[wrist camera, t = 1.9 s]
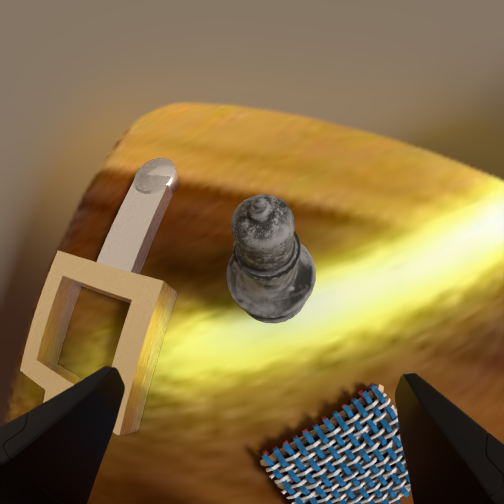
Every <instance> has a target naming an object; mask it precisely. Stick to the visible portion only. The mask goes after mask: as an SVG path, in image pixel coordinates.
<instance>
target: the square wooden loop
mask: <svg viewBox="0 0 504 504" xmlns="http://www.w3.org/2000/svg"><path fill="white" fill-rule="evenodd" d="M72 281H74V282H76V283H79V284H81V285H84V286H87V287H90V288H92V289H95V290H98V291H101V292H103V293H106V294H109V295H112V296H115V297H118V298H121V299H124V300H127V301H130V302H131V305H130V308H129V311H128V314H127V317H126V320H125V323H124V326H123V329H122V333H121V336H120V339H119V343H118V346H117V349H116V353H115V356H114V360H113V363H112V367H115V368H117V369H118V371H119V373H120V375H121V378H122V380H123V382H124V385H125V392H124V395H123V399H122V402H121V406H120V410H119V413H118V417H117V421H116V424H115V427H114V430H113V433H115V434H117V435H119V436H120V435H124V434H128V433H130V428H131V424H132V420H133V416H134V412H135V408H136V404H137V400H138V396H139V392H140V389H141V385H142V381H143V378H144V374H145V370H146V367H147V363H148V360H149V356H150V353H151V349H152V346H153V343H154V339H155V336H156V333H157V330H158V326H159V323H160V320H161V317H162V314H163V310H164V307H165V304H166V301H167V298H168V295H169V292H170V289H171V287H170V286H169V285H168V284H167V283H166V282H164V281H162V280H158V279H154V278H151V277H147V276H143V275H140V274H136V273H132V272H129V271H125V270H121V269H118V268H114V267H111V266H107V265H104V264H100V263H97V262H94V261H90V260H87V259H84V258H80V257H77V256H74V255H70V254H67V253H64V252H61V251H58V252H57V254H56V256H55V259H54V261H53V264H52V266H51V269H50V271H49V274H48V277H47V279H46V282H45V285H44V288H43V290H42V293H41V296H40V299H39V302H38V305H37V308H36V311H35V315H34V318H33V321H32V325H31V328H30V332H29V335H28V339H27V343H26V347H25V351H24V355H23V359H22V364H21V368H20V371H21V372H23V373H24V374H25V375H26V376H28V377H29V378H30V379H31V380H33V381H34V382H35V383H37V384H38V385H39V386H41V387H42V388H43V389H45V390H46V391H45V396H44V401H43V403H44V402H46V401H48V400H49V399H51V398H53V397H54V396H56V395H58V394H59V393H61V392H63V391H65V390H66V389H68V388H70V387H71V386H73V385H75V384H76V383H78V382H79V381H77V380H75V379H74V378H72V377H70V376H69V375H67V374H65V373H64V372H62V371H61V370H59V369H57V368H56V367H54V366H53V365H51V364H50V363H48V358H49V354H50V350H51V347H52V343H53V339H54V336H55V332H56V329H57V326H58V322H59V319H60V316H61V313H62V310H63V307H64V304H65V301H66V298H67V295H68V292H69V289H70V287H71V284H72Z"/></svg>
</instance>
